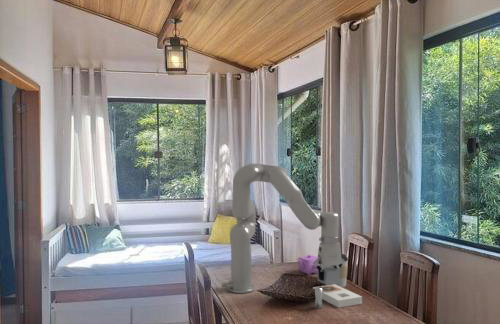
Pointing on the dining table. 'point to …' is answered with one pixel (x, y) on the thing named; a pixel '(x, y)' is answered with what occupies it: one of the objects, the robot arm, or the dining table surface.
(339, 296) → the board
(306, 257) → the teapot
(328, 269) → the cover
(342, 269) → the coffee cup
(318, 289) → the pin
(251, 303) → the dining table surface
